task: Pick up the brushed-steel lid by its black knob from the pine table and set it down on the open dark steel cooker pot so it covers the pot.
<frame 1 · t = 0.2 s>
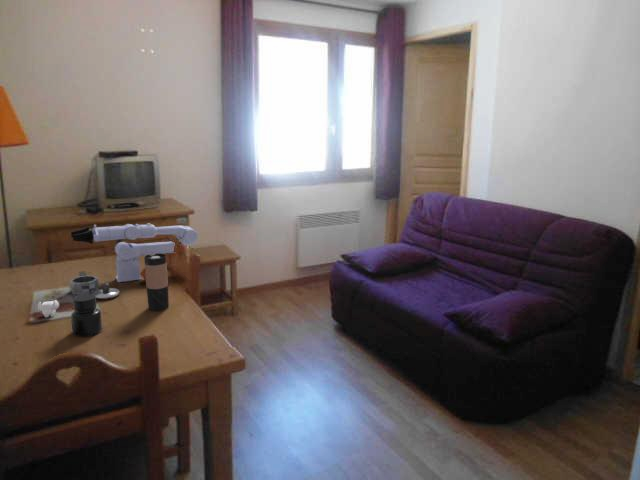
hand: (72, 236, 204), 21 cm above the table, tool horizontal, fingers open, 7 cm apart
ink bottle: (87, 332, 166), on the table
lid: (106, 296, 198), on the table
travel mug: (158, 308, 187), on the table
elephant figurine: (49, 316, 178), on the table
pot: (85, 291, 203), on the table
red bell pepper: (149, 283, 214), on the table
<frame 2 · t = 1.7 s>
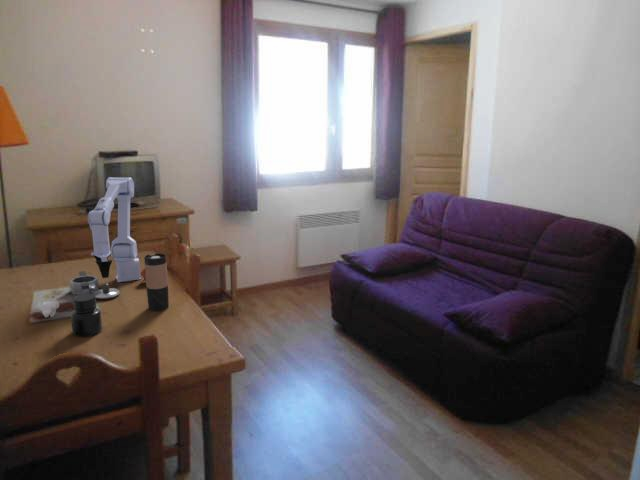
hand: (104, 274, 196), 9 cm above the table, tool pointing down, fingers open, 7 cm apart
nothing on the table moved.
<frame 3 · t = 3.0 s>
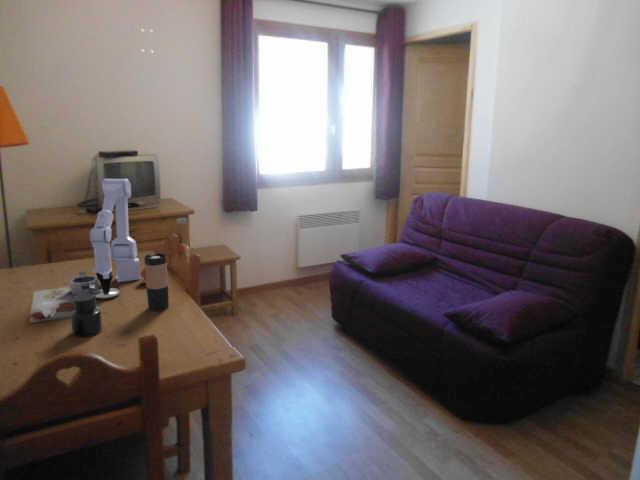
hand: (106, 291, 197), 2 cm above the table, tool pointing down, fingers closed on lid, 2 cm apart
lid: (106, 296, 198), on the table, touching gripper
everything else where it was.
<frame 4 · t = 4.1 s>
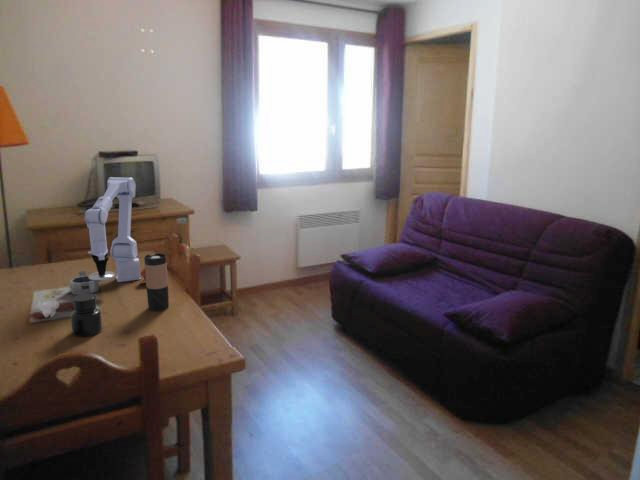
hand: (101, 273, 196), 9 cm above the table, tool pointing down, fingers closed on lid, 2 cm apart
lid: (102, 279, 197), point 7 cm above the table, touching gripper
everything else where it was.
when the fingers open (7 cm above the table, at t = 5.3 s): lid stays where it is, resting on pot.
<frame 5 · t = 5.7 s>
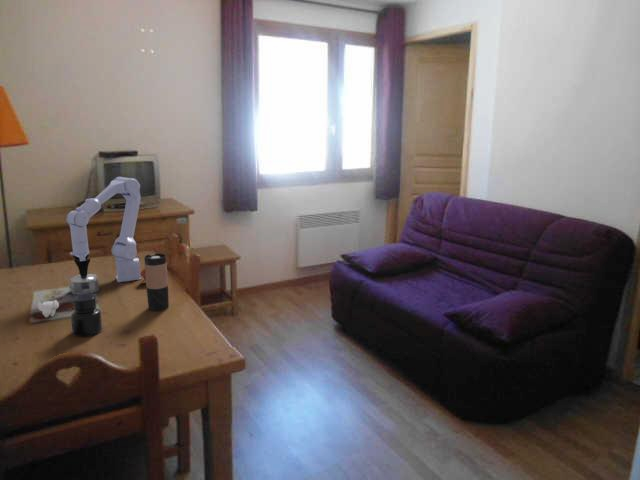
hand: (83, 273, 201), 7 cm above the table, tool pointing down, fingers open, 6 cm apart
lid: (84, 281, 202), point 4 cm above the table, touching pot
everything else where it was.
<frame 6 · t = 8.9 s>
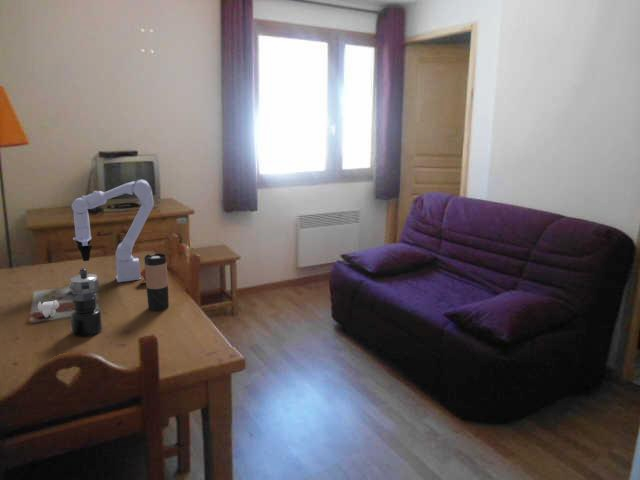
hand: (85, 258, 212), 10 cm above the table, tool pointing down, fingers open, 7 cm apart
nothing on the table moved.
at the end: lid 0.1 cm off-centre on the pot, point 4.0 cm above the pot's base; lid tilted 0°; the gripper is holding nothing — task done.
